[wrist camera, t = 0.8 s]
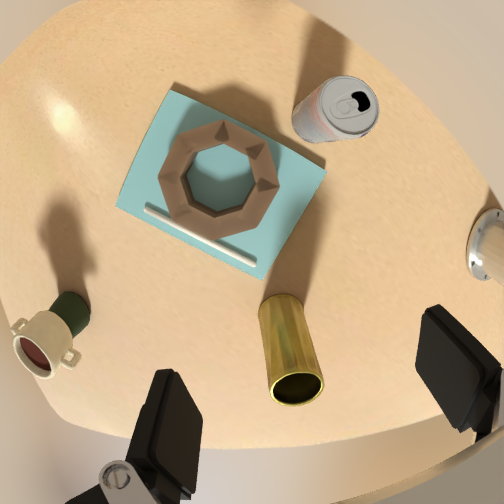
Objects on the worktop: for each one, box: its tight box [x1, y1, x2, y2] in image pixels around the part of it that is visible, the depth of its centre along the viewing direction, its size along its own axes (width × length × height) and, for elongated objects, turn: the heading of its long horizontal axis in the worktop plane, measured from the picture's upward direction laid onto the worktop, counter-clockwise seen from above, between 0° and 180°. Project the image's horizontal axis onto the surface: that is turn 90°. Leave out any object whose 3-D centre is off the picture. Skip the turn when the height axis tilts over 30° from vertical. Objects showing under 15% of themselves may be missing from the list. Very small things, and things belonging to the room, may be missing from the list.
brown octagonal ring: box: [157, 119, 280, 241], centre depth 29 cm, size 11×11×4 cm
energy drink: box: [292, 76, 379, 143], centre depth 24 cm, size 5×5×12 cm
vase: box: [258, 294, 324, 406], centre depth 31 cm, size 6×6×14 cm
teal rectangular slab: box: [115, 90, 327, 280], centre depth 31 cm, size 20×15×2 cm
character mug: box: [11, 292, 90, 379], centre depth 31 cm, size 11×7×13 cm, turn 65°
